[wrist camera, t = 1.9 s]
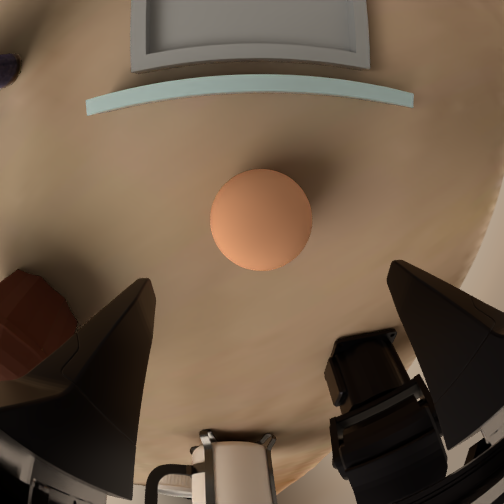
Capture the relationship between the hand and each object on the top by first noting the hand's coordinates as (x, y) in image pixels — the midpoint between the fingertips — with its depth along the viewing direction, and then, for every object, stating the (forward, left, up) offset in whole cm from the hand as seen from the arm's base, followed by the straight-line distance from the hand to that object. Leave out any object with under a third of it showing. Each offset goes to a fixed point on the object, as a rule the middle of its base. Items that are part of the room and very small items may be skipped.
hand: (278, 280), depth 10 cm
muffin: (+20, +8, -8) cm, 23 cm away
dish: (0, -14, -7) cm, 16 cm away
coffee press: (+6, +38, -8) cm, 39 cm away
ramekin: (+19, +62, -8) cm, 65 cm away
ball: (0, 0, -5) cm, 5 cm away
